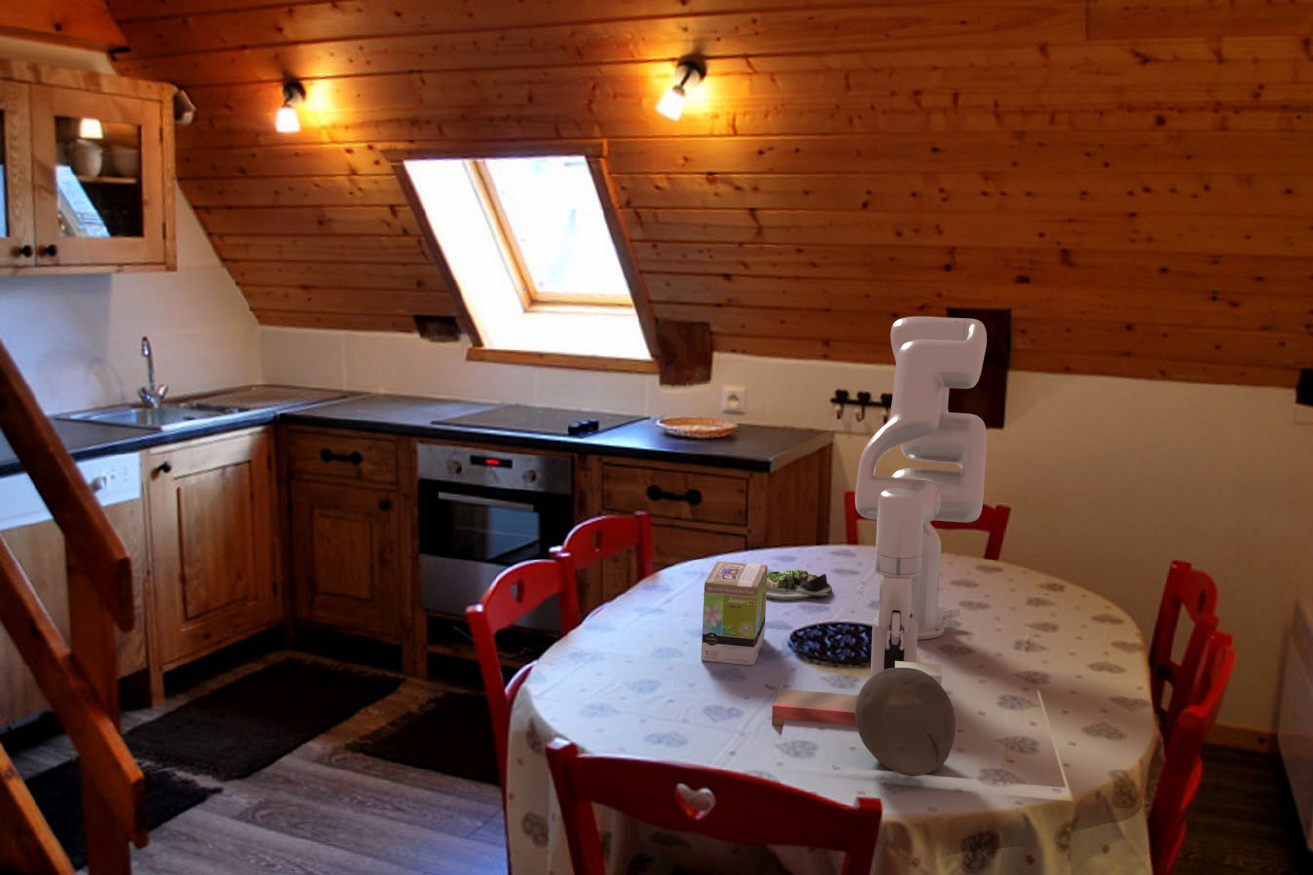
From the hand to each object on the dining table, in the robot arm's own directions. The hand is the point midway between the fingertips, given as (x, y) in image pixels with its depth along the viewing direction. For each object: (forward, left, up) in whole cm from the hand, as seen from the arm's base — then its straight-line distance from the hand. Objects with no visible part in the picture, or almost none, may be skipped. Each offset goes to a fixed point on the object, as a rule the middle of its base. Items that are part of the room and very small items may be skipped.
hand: (893, 661), depth 207 cm
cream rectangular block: (+5, +16, -3) cm, 17 cm away
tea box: (+19, -23, -4) cm, 31 cm away
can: (0, 0, -4) cm, 4 cm away
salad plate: (-7, -53, -5) cm, 54 cm away
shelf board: (+12, +11, -4) cm, 17 cm away
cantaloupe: (+15, +30, -4) cm, 34 cm away
